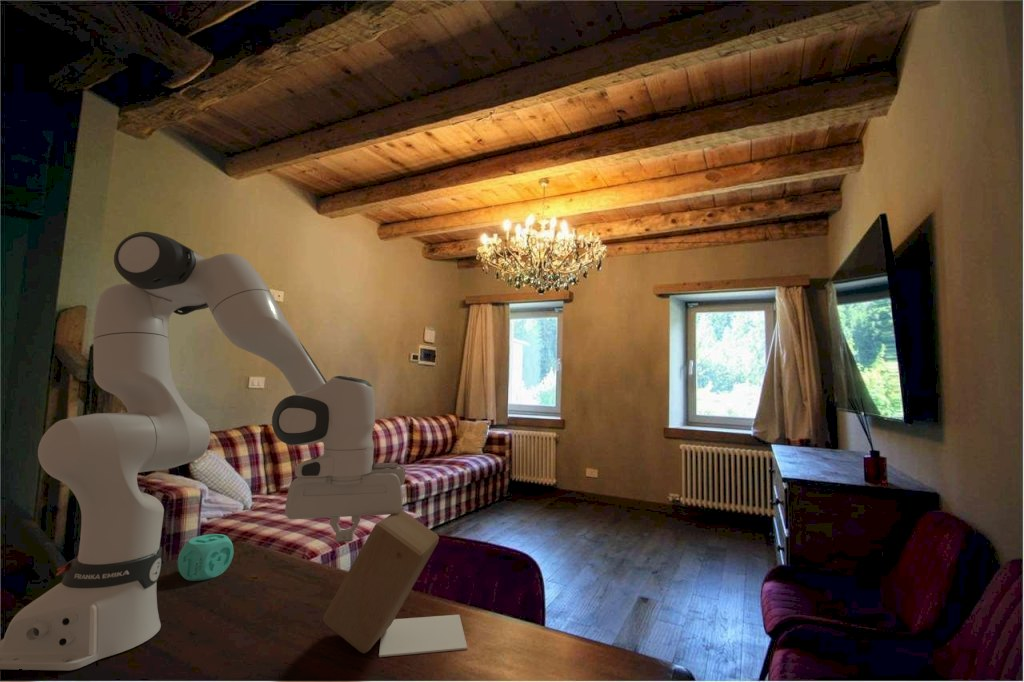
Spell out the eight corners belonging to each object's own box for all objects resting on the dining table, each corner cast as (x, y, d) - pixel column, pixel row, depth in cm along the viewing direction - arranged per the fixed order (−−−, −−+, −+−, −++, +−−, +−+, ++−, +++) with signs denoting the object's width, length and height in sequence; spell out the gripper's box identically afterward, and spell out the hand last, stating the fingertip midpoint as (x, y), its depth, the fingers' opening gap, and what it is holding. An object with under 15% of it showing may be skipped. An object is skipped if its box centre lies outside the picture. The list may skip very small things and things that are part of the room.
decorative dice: (174, 578, 104) (179, 541, 104) (206, 565, 111) (210, 532, 112) (201, 583, 101) (205, 546, 102) (232, 570, 109) (235, 536, 110)
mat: (378, 657, 76) (379, 655, 76) (382, 621, 88) (382, 620, 88) (467, 649, 79) (467, 647, 79) (459, 616, 91) (459, 614, 91)
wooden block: (363, 658, 75) (422, 556, 75) (318, 621, 77) (375, 521, 77) (390, 626, 85) (442, 535, 85) (349, 594, 87) (400, 505, 87)
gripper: (405, 459, 89) (403, 532, 88) (294, 462, 85) (289, 539, 83) (405, 464, 83) (402, 542, 81) (285, 467, 79) (279, 550, 77)
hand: (344, 541), depth 82 cm, fingers closed
